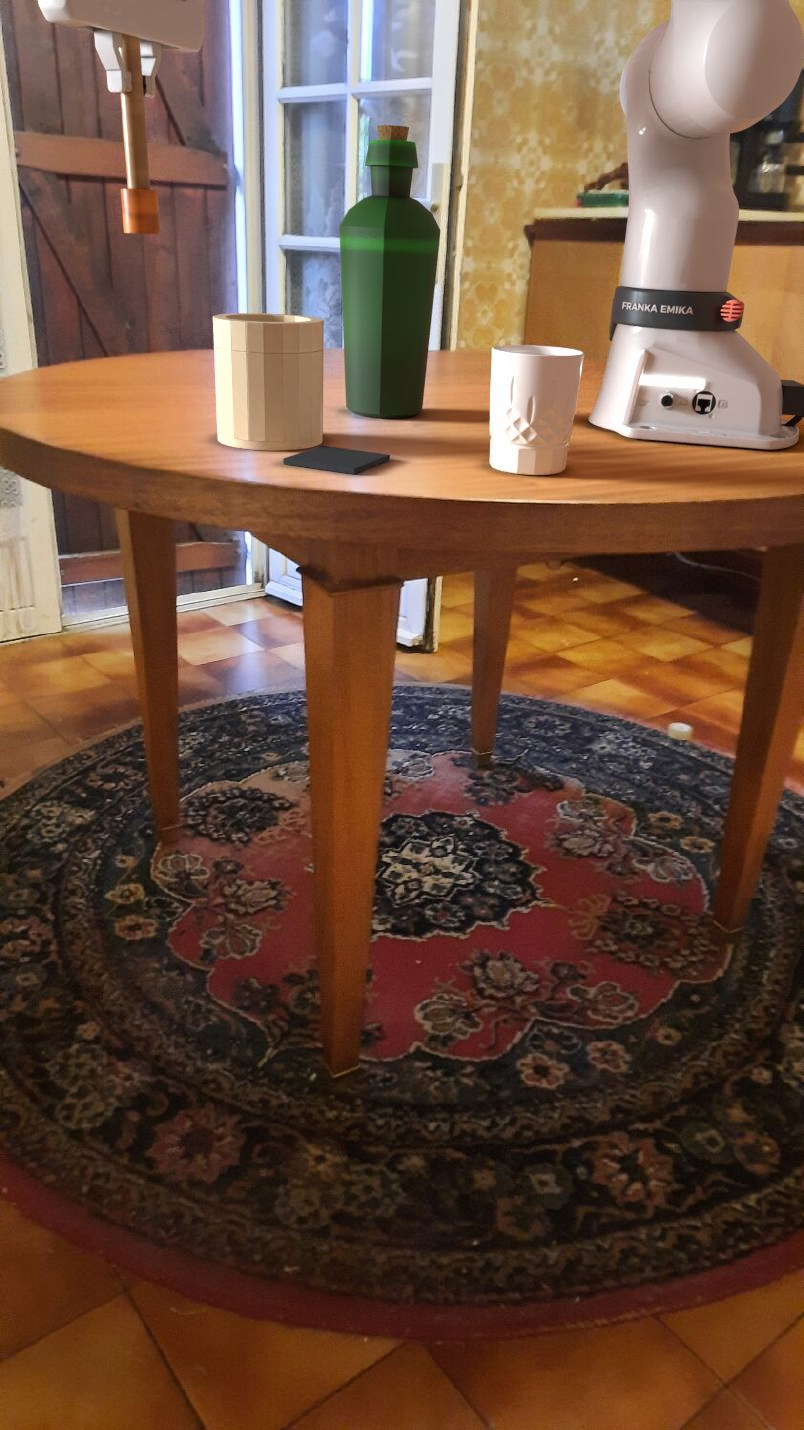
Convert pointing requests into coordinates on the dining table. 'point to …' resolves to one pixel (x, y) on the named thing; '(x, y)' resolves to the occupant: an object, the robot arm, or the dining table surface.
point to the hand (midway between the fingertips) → (132, 95)
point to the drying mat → (337, 459)
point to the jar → (269, 380)
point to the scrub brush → (136, 150)
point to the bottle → (388, 284)
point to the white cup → (532, 407)
